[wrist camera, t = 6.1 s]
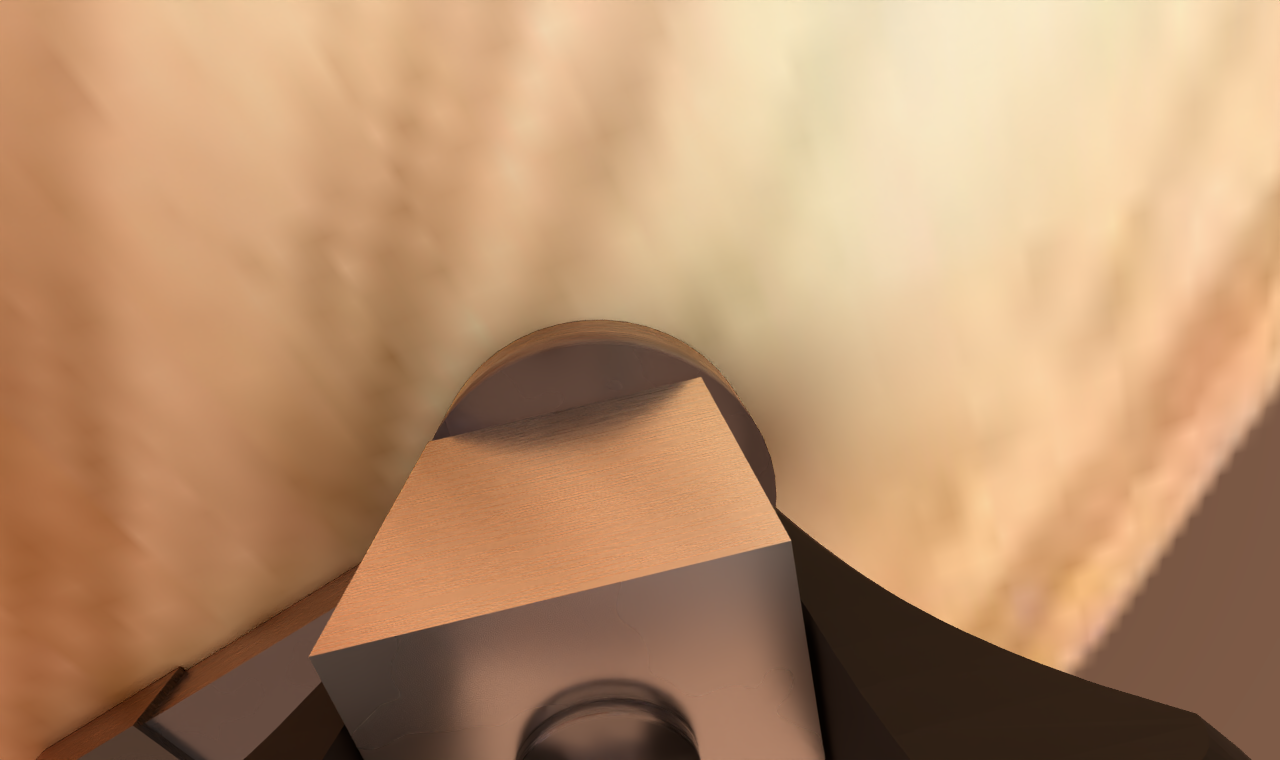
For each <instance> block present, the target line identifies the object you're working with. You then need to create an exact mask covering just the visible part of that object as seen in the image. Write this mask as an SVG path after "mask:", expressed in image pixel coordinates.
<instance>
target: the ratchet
mask: <svg viewBox="0 0 1280 760" xmlns="http://www.w3.org/2000/svg"><path fill="white" fill-rule="evenodd" d="M699 377H701V378H702V380H703V381H704V383H705V385H706V387H707V389H708V391H709V392H710V394H711V396H712V398H713V400H714V401H715V403H716V405H717V407H718V409H719V411H720V412H721V414H722V416H723V418H724V420H725V421H726V423H727V425H728V427H729V429H730V431H731V432H732V434H733V436H734V438H735V440H736V441H737V443H738V445H739V447H740V449H741V450H742V452H743V454H744V456H745V458H746V460H747V461H748V463H749V465H750V467H751V469H752V470H753V472H754V474H755V476H756V478H757V480H758V481H759V483H760V485H761V487H762V489H763V490H764V492H765V494H766V496H767V498H768V499H769V501H770V503H771V505H773V506H775V507H776V485H775V475H774V470H773V466H772V461H771V457H770V454H769V452H768V449H767V447H766V444H765V441H764V439H763V436H762V435H761V433H760V431H759V430H758V428H757V426H756V424H755V423H754V421H753V419H752V418H751V416H750V414H749V413H748V411H747V410H746V408H745V407H744V405H743V404H742V402H741V401H740V399H739V398H738V396H737V395H736V393H735V391H734V390H733V388H732V387H731V385H730V384H729V383H728V382H727V380H726V379H725V378H724V377H723V375H722V374H721V373H720V372H719V370H718V369H717V368H716V367H715V366H713V365H712V364H711V363H710V362H709V361H708V360H707V359H706V358H705V357H704V356H703V355H701V354H700V353H698V352H697V351H696V350H694V349H693V348H691V347H690V346H689V345H687V344H685V343H683V342H682V341H680V340H678V339H676V338H674V337H672V336H670V335H668V334H666V333H663V332H660V331H657V330H655V329H652V328H649V327H646V326H641V325H637V324H632V323H628V322H620V321H609V320H589V321H577V322H570V323H564V324H558V325H555V326H552V327H548V328H545V329H542V330H538V331H536V332H533V333H531V334H529V335H527V336H524V337H522V338H520V339H518V340H516V341H514V342H513V343H511V344H509V345H508V346H506V347H504V348H503V349H501V350H500V351H498V352H497V353H495V354H494V355H493V356H492V357H491V358H489V359H488V360H487V361H486V362H485V363H483V364H482V365H481V366H480V367H479V368H478V369H477V370H476V371H475V372H474V374H473V375H472V376H471V377H470V378H469V379H468V380H467V381H466V383H465V384H464V386H463V387H462V389H461V390H460V391H459V393H458V394H457V396H456V397H455V399H454V401H453V403H452V404H451V406H450V408H449V410H448V412H447V414H446V415H445V417H444V419H443V421H442V423H441V425H440V426H439V428H438V430H437V432H436V434H435V436H434V438H433V440H432V441H434V440H438V439H443V438H447V437H451V436H455V435H459V434H464V433H468V432H472V431H476V430H480V429H485V428H489V427H493V426H497V425H501V424H506V423H510V422H514V421H518V420H522V419H527V418H531V417H535V416H539V415H543V414H548V413H552V412H556V411H560V410H564V409H569V408H573V407H577V406H581V405H585V404H590V403H594V402H598V401H602V400H606V399H611V398H615V397H619V396H623V395H627V394H632V393H636V392H640V391H644V390H648V389H653V388H657V387H661V386H665V385H669V384H674V383H678V382H682V381H686V380H690V379H695V378H699ZM359 565H360V564H359ZM359 565H358V566H356V567H354V568H353V569H351V570H349V571H348V572H346V573H345V574H343V575H341V576H340V577H338V578H336V579H335V580H333V581H332V582H330V583H328V584H327V585H325V586H323V587H322V588H320V589H319V590H317V591H315V592H314V593H312V594H310V595H309V596H307V597H306V598H304V599H302V600H301V601H299V602H298V603H296V604H294V605H293V606H291V607H289V608H288V609H286V610H285V611H283V612H281V613H280V614H278V615H276V616H275V617H273V618H272V619H270V620H268V621H267V622H265V623H263V624H262V625H260V626H259V627H257V628H255V629H254V630H252V631H250V632H249V633H247V634H246V635H244V636H242V637H241V638H239V639H238V640H236V641H234V642H233V643H231V644H229V645H228V646H226V647H225V648H223V649H221V650H220V651H218V652H216V653H215V654H213V655H212V656H210V657H208V658H207V659H205V660H203V661H202V662H200V663H199V664H197V665H195V666H194V667H192V668H190V669H189V670H187V671H186V672H185V671H184V670H183V669H181V668H180V667H179V668H177V669H176V670H174V671H172V672H171V673H169V674H168V675H166V676H164V677H163V678H161V679H159V680H158V681H156V682H155V683H153V684H151V685H150V686H148V687H146V688H145V689H143V690H142V691H140V692H138V693H137V694H135V695H134V696H132V697H130V698H129V699H127V700H125V701H124V702H122V703H121V704H119V705H117V706H116V707H114V708H113V709H111V710H109V711H108V712H106V713H104V714H103V715H101V716H100V717H98V718H96V719H95V720H93V721H92V722H90V723H88V724H87V725H85V726H83V727H82V728H80V729H79V730H77V731H75V732H74V733H72V734H71V735H69V736H67V737H66V738H64V739H62V740H61V741H59V742H58V743H56V744H54V745H53V746H51V747H50V748H48V749H46V750H45V751H43V752H42V753H41V754H40V756H39V757H38V758H37V759H36V760H243V759H244V758H246V757H247V756H248V755H249V754H250V753H251V752H252V751H253V750H254V749H255V748H256V747H257V746H258V745H259V744H260V743H262V742H263V741H264V740H265V739H266V738H267V737H268V736H269V735H270V734H271V733H272V732H273V731H274V730H275V729H276V728H277V727H278V726H279V725H280V724H281V723H282V722H283V721H284V720H285V719H286V718H287V717H288V716H289V715H290V714H291V713H292V712H293V711H294V710H295V709H296V708H297V706H298V705H299V704H300V703H301V702H302V701H303V700H304V699H305V698H306V697H307V696H308V695H309V694H310V693H311V692H312V691H313V690H314V689H315V688H316V687H317V686H318V685H319V684H320V683H321V682H322V681H321V679H320V677H319V675H318V673H317V672H316V670H315V668H314V666H313V664H312V662H311V660H310V659H309V655H310V653H311V652H312V650H313V648H314V646H315V644H316V643H317V641H318V639H319V637H320V635H321V634H322V632H323V630H324V628H325V626H326V625H327V623H328V621H329V619H330V617H331V616H332V614H333V612H334V610H335V608H336V607H337V605H338V603H339V601H340V599H341V598H342V596H343V594H344V592H345V591H346V589H347V587H348V585H349V583H350V582H351V580H352V578H353V576H354V574H355V573H356V571H357V569H358V567H359Z"/></svg>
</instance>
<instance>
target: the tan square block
mask: <svg viewBox="0 0 1280 760" xmlns="http://www.w3.org/2000/svg"><path fill="white" fill-rule="evenodd" d="M309 659H310V660H311V662H312V664H313V666H314V668H315V670H316V672H317V673H318V675H319V677H320V679H321V681H322V683H323V685H324V687H325V688H326V690H327V692H328V694H329V696H330V698H331V700H332V701H333V703H334V705H335V707H336V709H337V711H338V713H339V714H340V716H341V718H342V720H343V722H344V724H345V726H346V727H347V729H348V731H349V733H350V735H351V737H352V739H353V740H354V742H355V744H356V746H357V748H358V750H359V752H360V754H361V755H362V757H363V759H364V760H825V755H824V749H823V742H822V736H821V730H820V723H819V717H818V710H817V704H816V697H815V691H814V684H813V678H812V672H811V665H810V659H809V652H808V646H807V639H806V633H805V626H804V620H803V614H802V607H801V601H800V594H799V588H798V581H797V575H796V568H795V562H794V556H793V549H792V543H791V539H790V538H789V536H788V534H787V532H786V530H785V529H784V527H783V525H782V523H781V521H780V519H779V518H778V516H777V514H776V512H775V510H774V509H773V507H772V505H771V503H770V501H769V499H768V498H767V496H766V494H765V492H764V490H763V489H762V487H761V485H760V483H759V481H758V480H757V478H756V476H755V474H754V472H753V470H752V469H751V467H750V465H749V463H748V461H747V460H746V458H745V456H744V454H743V452H742V450H741V449H740V447H739V445H738V443H737V441H736V440H735V438H734V436H733V434H732V432H731V431H730V429H729V427H728V425H727V423H726V421H725V420H724V418H723V416H722V414H721V412H720V411H719V409H718V407H717V405H716V403H715V401H714V400H713V398H712V396H711V394H710V392H709V391H708V389H707V387H706V385H705V383H704V381H703V380H702V378H701V377H699V378H695V379H690V380H686V381H682V382H678V383H674V384H669V385H665V386H661V387H657V388H653V389H648V390H644V391H640V392H636V393H632V394H627V395H623V396H619V397H615V398H611V399H606V400H602V401H598V402H594V403H590V404H585V405H581V406H577V407H573V408H569V409H564V410H560V411H556V412H552V413H548V414H543V415H539V416H535V417H531V418H527V419H522V420H518V421H514V422H510V423H506V424H501V425H497V426H493V427H489V428H485V429H480V430H476V431H472V432H468V433H464V434H459V435H455V436H451V437H447V438H443V439H438V440H434V441H430V442H428V443H427V445H426V447H425V449H424V451H423V452H422V454H421V456H420V458H419V459H418V461H417V463H416V465H415V467H414V468H413V470H412V472H411V474H410V476H409V477H408V479H407V481H406V483H405V485H404V486H403V488H402V490H401V492H400V494H399V495H398V497H397V499H396V501H395V503H394V504H393V506H392V508H391V510H390V512H389V513H388V515H387V517H386V519H385V521H384V522H383V524H382V526H381V528H380V529H379V531H378V533H377V535H376V537H375V538H374V540H373V542H372V544H371V546H370V547H369V549H368V551H367V553H366V555H365V556H364V558H363V560H362V562H361V564H360V565H359V567H358V569H357V571H356V573H355V574H354V576H353V578H352V580H351V582H350V583H349V585H348V587H347V589H346V591H345V592H344V594H343V596H342V598H341V599H340V601H339V603H338V605H337V607H336V608H335V610H334V612H333V614H332V616H331V617H330V619H329V621H328V623H327V625H326V626H325V628H324V630H323V632H322V634H321V635H320V637H319V639H318V641H317V643H316V644H315V646H314V648H313V650H312V652H311V653H310V655H309Z"/></svg>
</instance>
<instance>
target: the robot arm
mask: <svg viewBox="0 0 1280 760" xmlns="http://www.w3.org/2000/svg"><path fill="white" fill-rule="evenodd" d="M772 507H773V509H774V510H775V512H776V514H777V516H778V518H779V519H780V521H781V523H782V525H783V527H784V529H785V530H786V532H787V534H788V536H789V538H790V539H791V543H792V549H793V556H794V562H795V568H796V575H797V581H798V588H799V594H800V601H801V607H802V614H803V620H804V626H805V633H806V639H807V646H808V652H809V659H810V665H811V672H812V678H813V684H814V691H815V697H816V704H817V710H818V717H819V723H820V730H821V736H822V742H823V749H824V755H825V760H1251V759H1250V758H1249V757H1248V756H1247V755H1246V754H1245V753H1244V752H1242V751H1241V750H1240V749H1239V748H1238V747H1237V746H1236V745H1234V744H1233V743H1232V742H1231V741H1229V740H1228V739H1227V738H1226V737H1224V736H1223V735H1222V734H1221V733H1220V732H1218V731H1217V730H1216V729H1215V728H1213V727H1212V726H1211V725H1210V724H1208V723H1207V722H1206V721H1205V720H1203V719H1202V718H1201V717H1200V716H1199V715H1197V714H1195V713H1192V712H1189V711H1185V710H1182V709H1179V708H1175V707H1172V706H1169V705H1165V704H1162V703H1159V702H1155V701H1152V700H1149V699H1145V698H1142V697H1139V696H1135V695H1132V694H1128V693H1125V692H1122V691H1119V690H1115V689H1112V688H1109V687H1105V686H1102V685H1099V684H1096V683H1092V682H1090V681H1087V680H1084V679H1081V678H1079V677H1076V676H1073V675H1070V674H1068V673H1065V672H1062V671H1059V670H1056V669H1054V668H1051V667H1048V666H1045V665H1043V664H1040V663H1037V662H1035V661H1032V660H1030V659H1027V658H1025V657H1022V656H1020V655H1017V654H1015V653H1012V652H1010V651H1007V650H1005V649H1002V648H1000V647H998V646H996V645H993V644H991V643H989V642H987V641H984V640H982V639H980V638H978V637H975V636H973V635H971V634H969V633H966V632H964V631H962V630H960V629H958V628H956V627H954V626H952V625H949V624H947V623H945V622H943V621H941V620H939V619H937V618H936V617H934V616H932V615H930V614H928V613H926V612H924V611H922V610H921V609H919V608H917V607H915V606H913V605H911V604H909V603H907V602H906V601H904V600H902V599H900V598H899V597H897V596H896V595H894V594H892V593H891V592H889V591H887V590H886V589H884V588H883V587H881V586H879V585H878V584H876V583H875V582H873V581H872V580H870V579H869V578H867V577H865V576H864V575H862V574H861V573H860V572H858V571H857V570H855V569H854V568H852V567H851V566H849V565H848V564H847V563H845V562H844V561H842V560H841V559H840V558H838V557H837V556H836V555H834V554H833V553H831V552H830V551H829V550H827V549H826V548H825V547H823V546H822V545H821V544H819V543H818V542H817V541H815V540H814V539H813V538H812V537H810V536H809V535H808V534H807V533H805V532H804V531H803V530H802V529H800V528H799V527H798V526H797V525H796V524H794V523H793V522H792V521H791V520H790V519H788V518H787V517H786V516H785V515H784V514H783V513H782V512H780V511H779V510H778V509H777V508H776V507H775V506H773V505H772ZM243 760H364V759H363V757H362V755H361V754H360V752H359V750H358V748H357V746H356V744H355V742H354V740H353V739H352V737H351V735H350V733H349V731H348V729H347V727H346V726H345V724H344V722H343V720H342V718H341V716H340V714H339V713H338V711H337V709H336V707H335V705H334V703H333V701H332V700H331V698H330V696H329V694H328V692H327V690H326V688H325V687H324V685H323V683H322V682H321V683H320V684H319V685H318V686H317V687H316V688H315V689H314V690H313V691H312V692H311V693H310V694H309V695H308V696H307V697H306V698H305V699H304V700H303V701H302V702H301V703H300V704H299V705H298V706H297V708H296V709H295V710H294V711H293V712H292V713H291V714H290V715H289V716H288V717H287V718H286V719H285V720H284V721H283V722H282V723H281V724H280V725H279V726H278V727H277V728H276V729H275V730H274V731H273V732H272V733H271V734H270V735H269V736H268V737H267V738H266V739H265V740H264V741H263V742H262V743H260V744H259V745H258V746H257V747H256V748H255V749H254V750H253V751H252V752H251V753H250V754H249V755H248V756H247V757H246V758H244V759H243Z"/></svg>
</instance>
